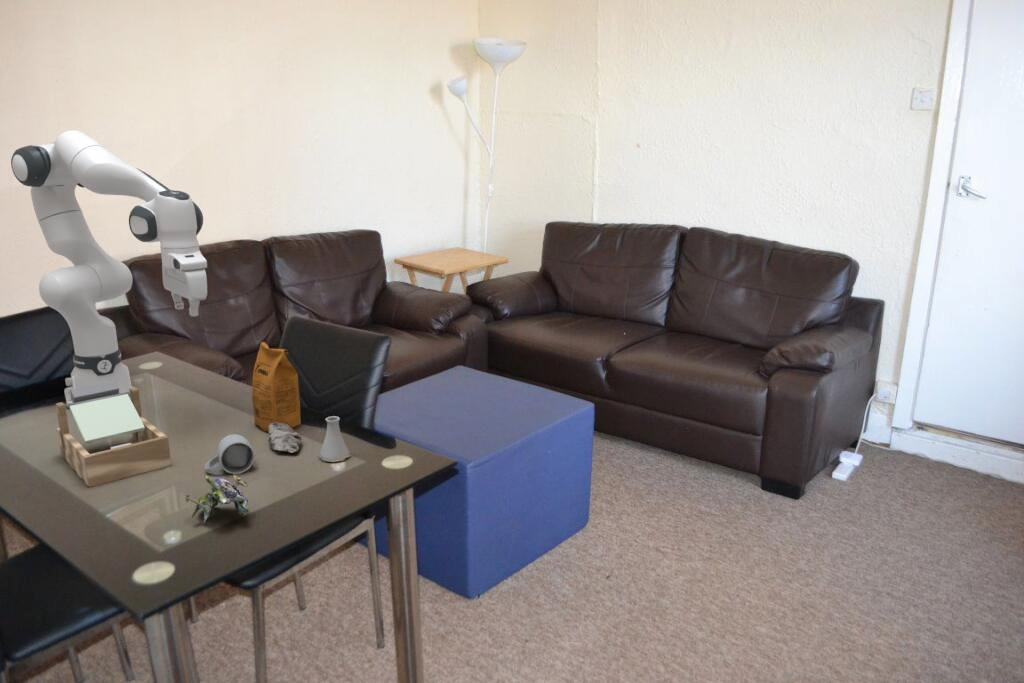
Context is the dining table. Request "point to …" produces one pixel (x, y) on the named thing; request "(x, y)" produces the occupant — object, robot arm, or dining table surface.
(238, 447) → the ceramic mug
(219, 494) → the passion flower
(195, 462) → the dining table surface
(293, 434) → the mineral rock
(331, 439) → the flask
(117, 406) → the trapdoor
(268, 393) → the coffee package
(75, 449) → the trapdoor frame
